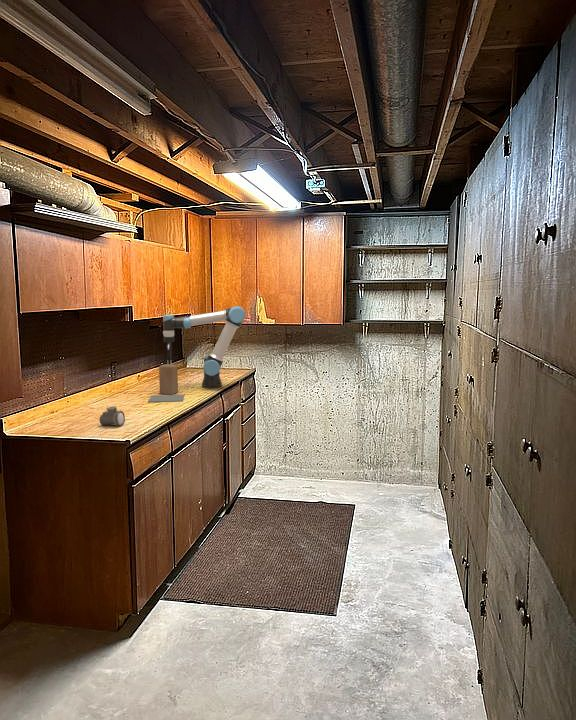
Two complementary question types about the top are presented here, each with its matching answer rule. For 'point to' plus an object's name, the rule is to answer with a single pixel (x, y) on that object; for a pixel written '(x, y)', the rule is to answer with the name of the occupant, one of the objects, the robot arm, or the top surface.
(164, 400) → the mat
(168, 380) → the block
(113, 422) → the pipe fitting
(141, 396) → the top surface
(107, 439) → the top surface
